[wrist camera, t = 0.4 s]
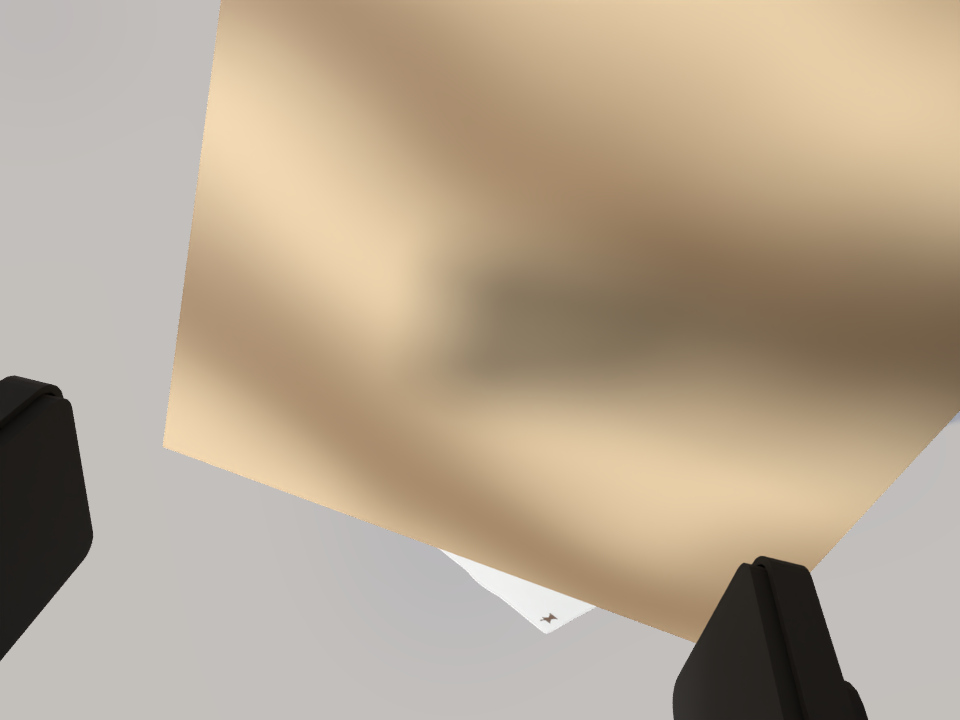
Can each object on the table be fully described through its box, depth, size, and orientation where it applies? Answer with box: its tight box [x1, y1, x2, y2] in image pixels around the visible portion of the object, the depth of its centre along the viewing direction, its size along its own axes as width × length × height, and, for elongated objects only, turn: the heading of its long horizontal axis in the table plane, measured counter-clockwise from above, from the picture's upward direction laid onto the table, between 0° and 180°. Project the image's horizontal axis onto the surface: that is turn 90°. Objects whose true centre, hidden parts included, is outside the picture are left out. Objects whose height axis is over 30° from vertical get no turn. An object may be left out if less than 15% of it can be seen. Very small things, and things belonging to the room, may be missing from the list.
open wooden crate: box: [163, 0, 960, 643], centre depth 22 cm, size 19×14×26 cm
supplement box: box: [440, 549, 597, 634], centre depth 37 cm, size 9×9×15 cm
